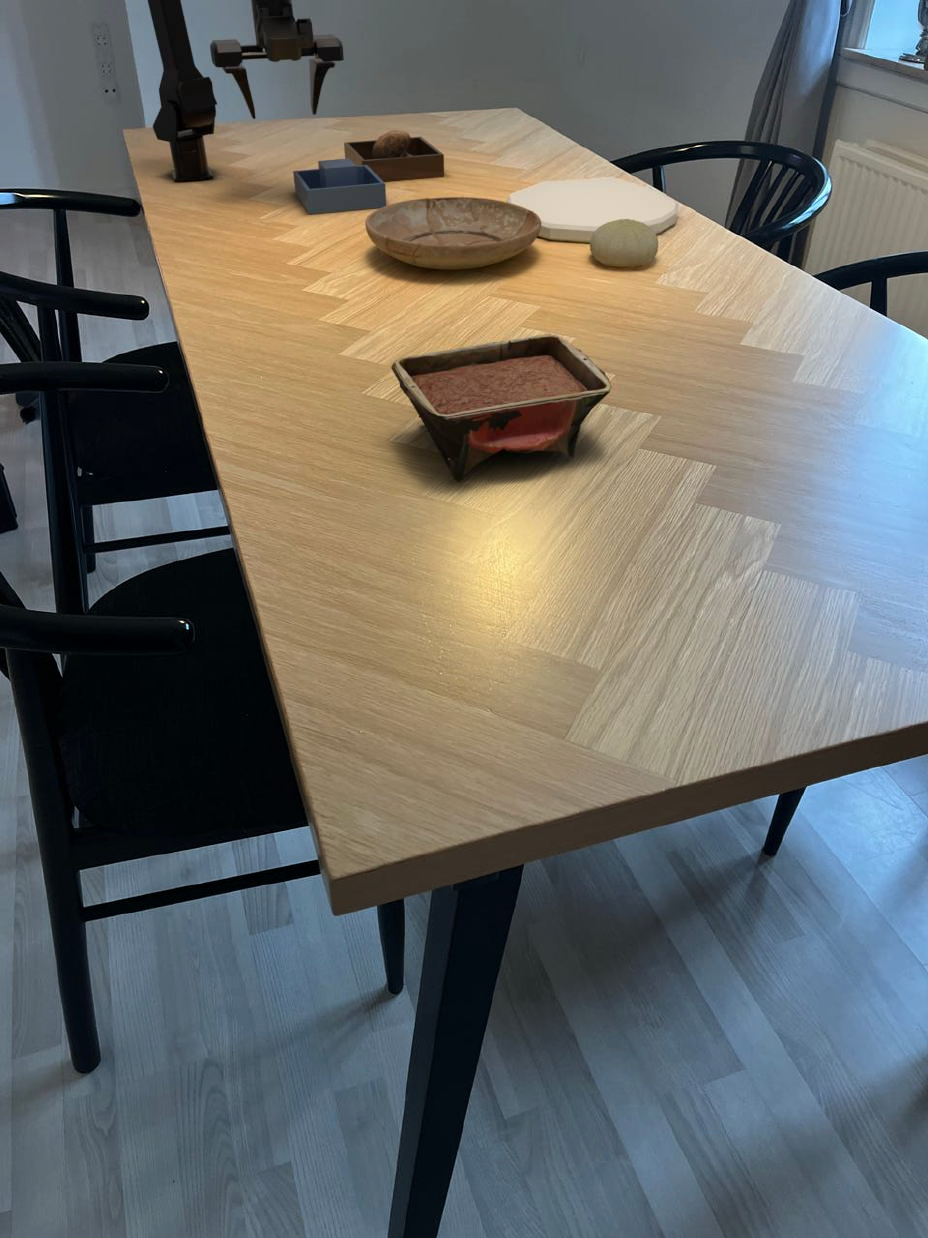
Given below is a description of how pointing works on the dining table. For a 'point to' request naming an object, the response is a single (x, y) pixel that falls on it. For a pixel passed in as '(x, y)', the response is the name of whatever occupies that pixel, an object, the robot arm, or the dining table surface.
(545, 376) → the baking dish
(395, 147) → the mushroom
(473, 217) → the ceramic bowl
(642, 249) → the sea urchin shell
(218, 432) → the dining table surface
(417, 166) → the walnut bin
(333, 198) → the blue bin
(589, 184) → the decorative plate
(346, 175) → the blue block
